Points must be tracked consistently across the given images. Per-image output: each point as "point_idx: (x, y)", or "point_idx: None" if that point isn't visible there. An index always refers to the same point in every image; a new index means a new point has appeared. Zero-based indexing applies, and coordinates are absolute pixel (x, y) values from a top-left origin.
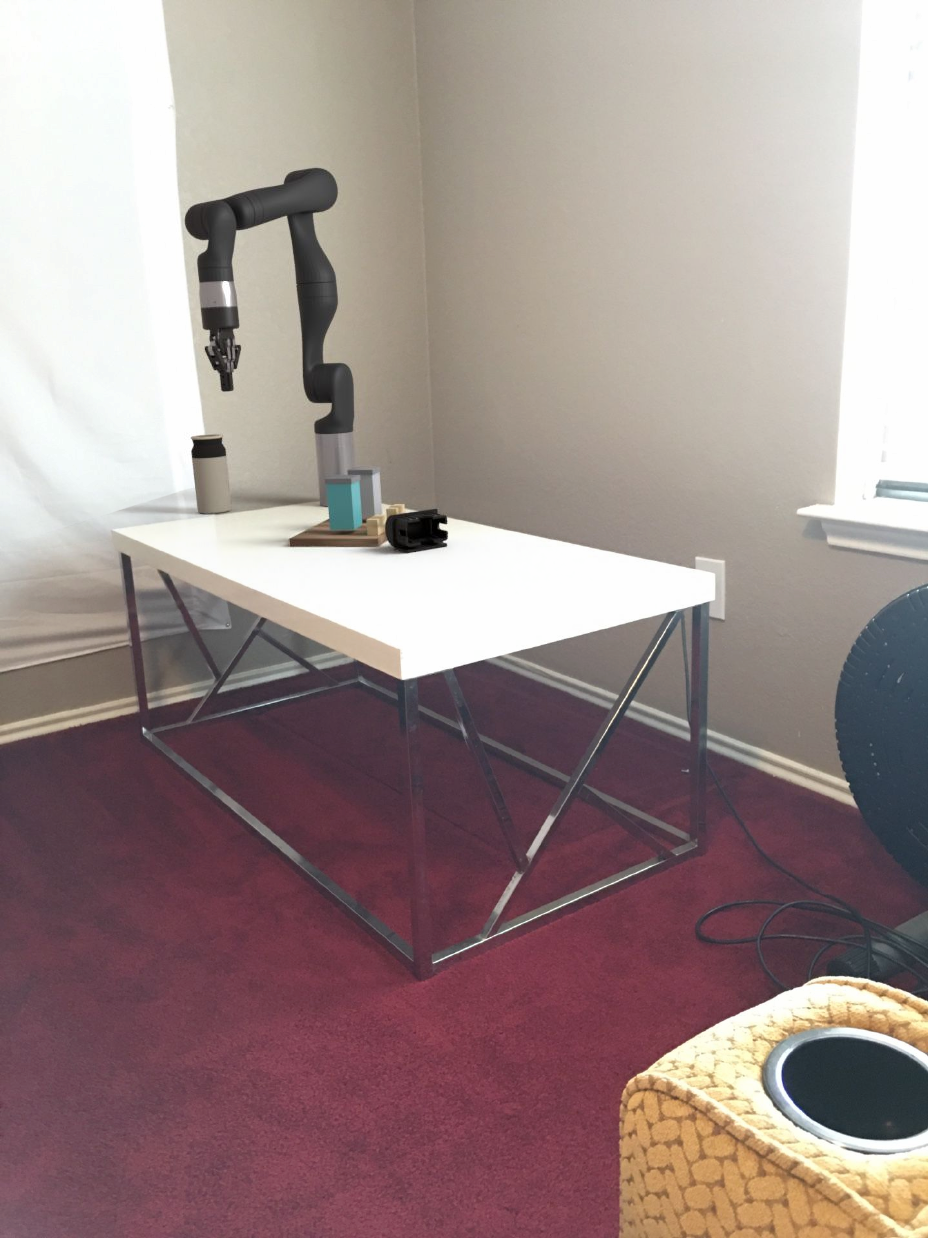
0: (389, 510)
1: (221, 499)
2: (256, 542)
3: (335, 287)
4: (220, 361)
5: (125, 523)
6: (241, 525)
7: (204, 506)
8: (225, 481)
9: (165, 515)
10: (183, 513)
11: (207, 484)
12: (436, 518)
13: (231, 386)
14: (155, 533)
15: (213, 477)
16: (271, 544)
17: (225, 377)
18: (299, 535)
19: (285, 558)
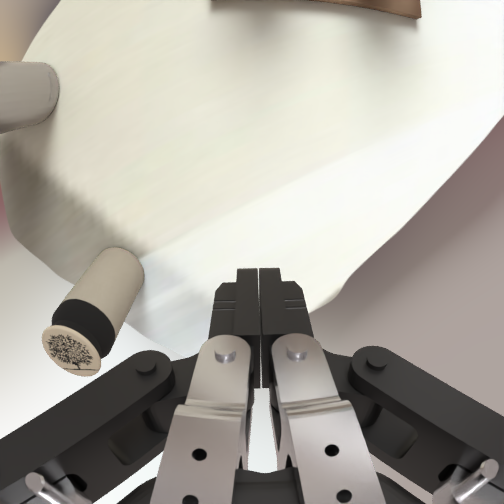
0: None
1: (122, 261)
2: (391, 73)
3: None
4: (450, 390)
5: None
6: (240, 159)
7: (141, 280)
8: (100, 272)
9: (162, 325)
10: (143, 308)
11: (127, 292)
12: None
13: (267, 277)
14: (310, 269)
15: (117, 290)
16: (405, 47)
17: (308, 329)
18: (398, 5)
19: (475, 19)
